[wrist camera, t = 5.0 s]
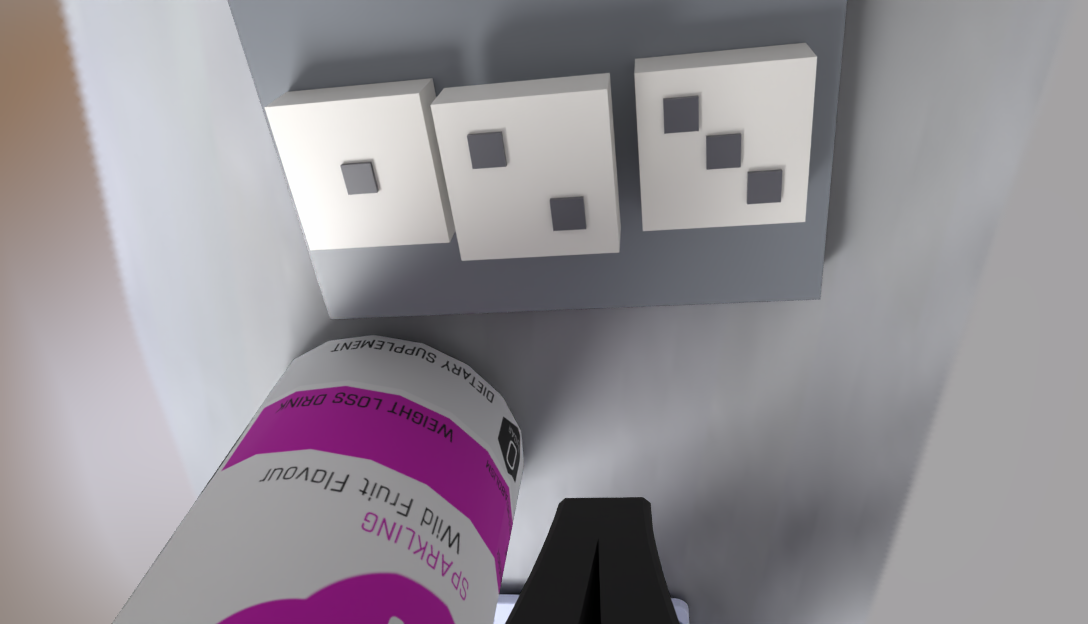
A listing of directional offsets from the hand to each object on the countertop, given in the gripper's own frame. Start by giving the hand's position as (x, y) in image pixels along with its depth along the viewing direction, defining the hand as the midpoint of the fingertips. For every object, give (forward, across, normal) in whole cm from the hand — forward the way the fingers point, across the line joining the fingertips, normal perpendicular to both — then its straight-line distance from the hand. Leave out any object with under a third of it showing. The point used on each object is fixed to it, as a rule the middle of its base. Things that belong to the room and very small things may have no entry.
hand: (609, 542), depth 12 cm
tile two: (+10, +2, -4) cm, 10 cm away
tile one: (+9, +6, -4) cm, 12 cm away
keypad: (+10, +2, -4) cm, 10 cm away
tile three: (+10, -2, -4) cm, 11 cm away
